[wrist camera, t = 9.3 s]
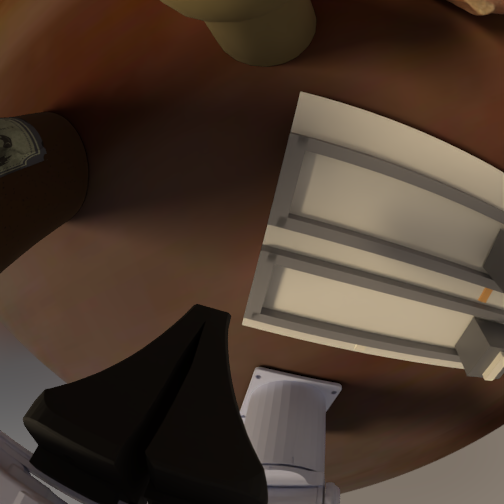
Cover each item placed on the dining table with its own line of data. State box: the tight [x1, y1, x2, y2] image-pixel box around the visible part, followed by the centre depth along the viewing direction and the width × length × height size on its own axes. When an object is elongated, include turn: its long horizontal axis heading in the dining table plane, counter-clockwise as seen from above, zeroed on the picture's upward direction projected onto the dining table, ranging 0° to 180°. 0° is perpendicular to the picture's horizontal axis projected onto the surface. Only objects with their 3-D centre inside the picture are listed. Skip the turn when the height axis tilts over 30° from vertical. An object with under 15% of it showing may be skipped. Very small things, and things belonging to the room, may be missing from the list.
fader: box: [455, 317, 504, 381], centre depth 18 cm, size 3×4×4 cm
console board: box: [242, 91, 504, 369], centre depth 18 cm, size 16×26×2 cm, turn 78°
